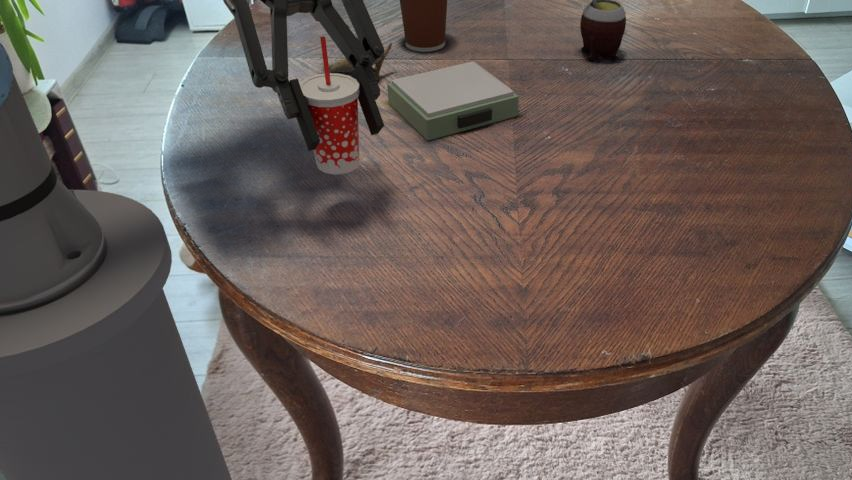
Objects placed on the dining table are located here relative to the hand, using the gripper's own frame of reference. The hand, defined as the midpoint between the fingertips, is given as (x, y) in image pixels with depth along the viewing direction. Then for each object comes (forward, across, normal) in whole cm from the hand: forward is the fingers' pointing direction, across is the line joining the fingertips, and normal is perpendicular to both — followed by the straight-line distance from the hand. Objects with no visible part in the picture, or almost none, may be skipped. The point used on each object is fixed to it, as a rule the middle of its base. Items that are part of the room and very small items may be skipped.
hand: (346, 137), depth 75 cm
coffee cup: (-21, -29, -36) cm, 51 cm away
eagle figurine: (-17, -15, -33) cm, 40 cm away
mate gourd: (-9, -51, -24) cm, 57 cm away
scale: (-6, -22, -21) cm, 31 cm away
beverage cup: (+1, 0, -6) cm, 6 cm away
